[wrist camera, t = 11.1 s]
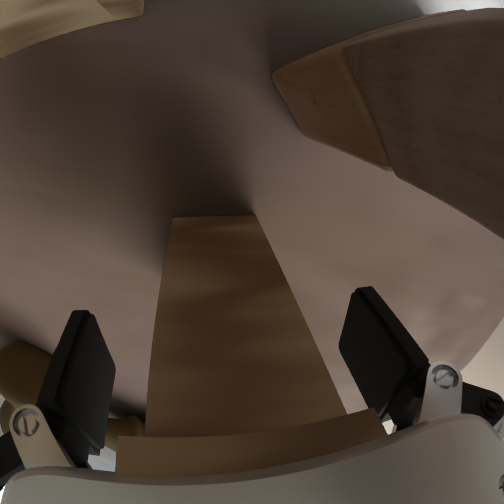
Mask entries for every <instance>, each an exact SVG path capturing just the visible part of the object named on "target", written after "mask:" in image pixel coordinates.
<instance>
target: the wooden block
mask: <svg viewBox="0 0 504 504" xmlns="http://www.w3.org/2000/svg"><path fill="white" fill-rule="evenodd" d="M272 81H273V82H274V84H275V86H276V87H277V89H278V91H279V92H280V94H281V96H282V97H283V99H284V101H285V103H286V104H287V106H288V108H289V110H290V111H291V113H292V115H293V117H294V119H295V120H296V122H297V124H298V126H299V128H300V129H301V131H302V133H303V135H304V136H306V137H307V138H309V139H312V140H314V141H317V142H320V143H322V144H325V145H327V146H330V147H332V148H335V149H337V150H340V151H342V152H345V153H347V154H349V155H352V156H354V157H357V158H359V159H361V160H363V161H366V162H368V163H370V164H372V165H375V166H377V167H379V168H381V169H383V170H385V171H394V173H395V175H396V176H397V177H398V178H400V179H402V180H404V181H406V182H408V183H410V184H412V185H414V186H415V187H417V188H419V189H421V190H423V191H425V192H427V193H429V194H430V195H432V196H434V197H436V198H438V199H439V200H441V201H443V202H445V203H446V204H448V205H450V206H452V207H453V208H455V209H457V210H458V211H460V212H462V213H463V214H465V215H467V216H468V217H470V218H472V219H473V220H475V221H476V222H478V223H479V224H481V225H483V226H484V227H486V228H487V229H489V230H490V231H492V232H493V233H495V234H496V235H498V236H499V237H501V238H502V239H503V240H504V8H483V9H476V10H469V11H466V10H463V9H462V10H454V11H448V12H441V13H436V14H430V15H425V16H421V17H417V18H413V19H409V20H405V21H402V22H398V23H394V24H391V25H388V26H384V27H381V28H378V29H375V30H372V31H369V32H366V33H363V34H360V35H357V36H354V37H351V38H349V39H346V40H343V41H341V42H339V43H336V44H334V45H331V46H328V47H325V48H323V49H321V50H318V51H316V52H314V53H311V54H309V55H307V56H304V57H302V58H300V59H298V60H296V61H293V62H291V63H289V64H287V65H285V66H283V67H281V68H279V69H277V70H275V71H274V72H273V73H272Z"/></svg>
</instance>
